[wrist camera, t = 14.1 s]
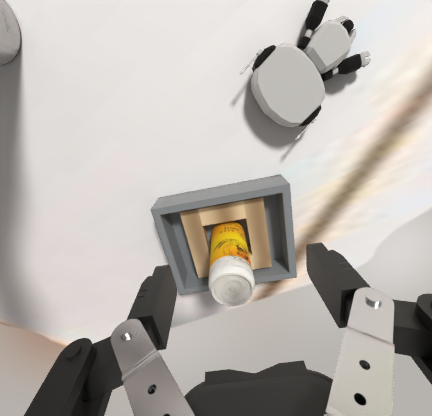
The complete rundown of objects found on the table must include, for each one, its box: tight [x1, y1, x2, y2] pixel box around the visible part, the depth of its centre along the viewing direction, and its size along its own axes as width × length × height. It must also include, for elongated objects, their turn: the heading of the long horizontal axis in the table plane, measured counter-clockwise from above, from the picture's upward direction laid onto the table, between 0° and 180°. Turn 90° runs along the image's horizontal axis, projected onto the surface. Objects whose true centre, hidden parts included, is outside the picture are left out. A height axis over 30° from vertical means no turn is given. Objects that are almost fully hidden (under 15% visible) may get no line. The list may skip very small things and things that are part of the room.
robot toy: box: [240, 0, 370, 140], centre depth 31 cm, size 12×4×15 cm
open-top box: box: [151, 175, 297, 295], centre depth 40 cm, size 22×18×6 cm
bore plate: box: [180, 196, 272, 278], centre depth 41 cm, size 14×14×3 cm
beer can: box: [209, 221, 255, 306], centre depth 35 cm, size 6×6×15 cm
